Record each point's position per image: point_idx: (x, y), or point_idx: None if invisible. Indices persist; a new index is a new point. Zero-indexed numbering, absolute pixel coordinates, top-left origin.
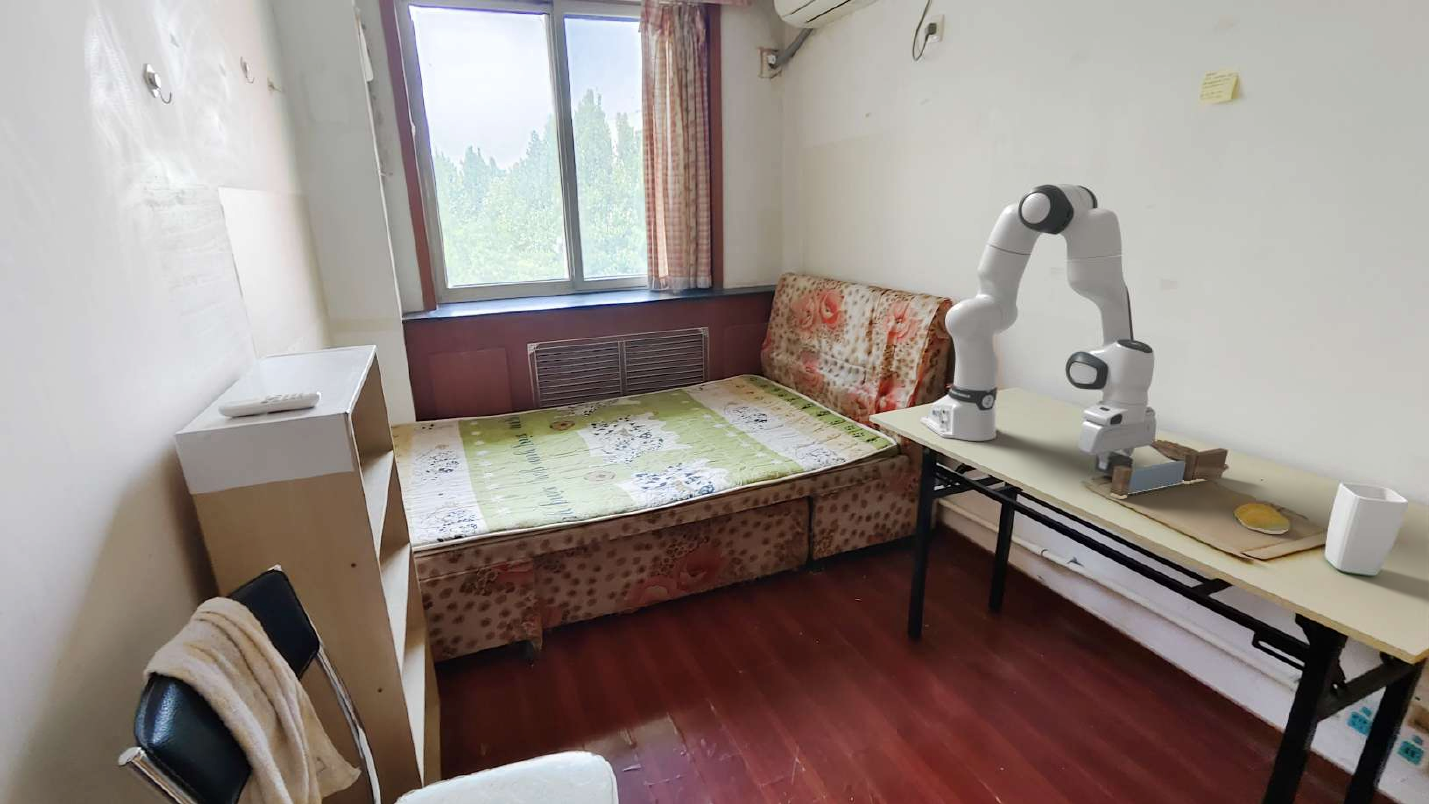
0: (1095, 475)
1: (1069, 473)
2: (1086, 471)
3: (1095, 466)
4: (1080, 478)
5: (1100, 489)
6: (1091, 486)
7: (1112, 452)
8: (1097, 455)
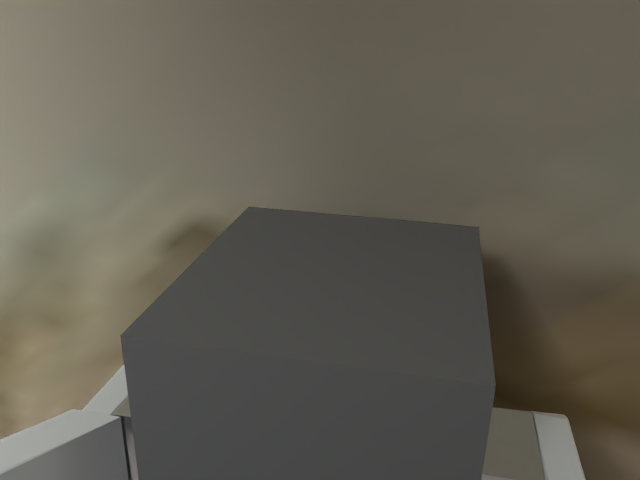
0: (293, 190)
1: (57, 18)
2: (297, 56)
3: (229, 229)
4: (77, 175)
5: (76, 406)
6: (47, 339)
7: (404, 474)
8: (154, 310)
